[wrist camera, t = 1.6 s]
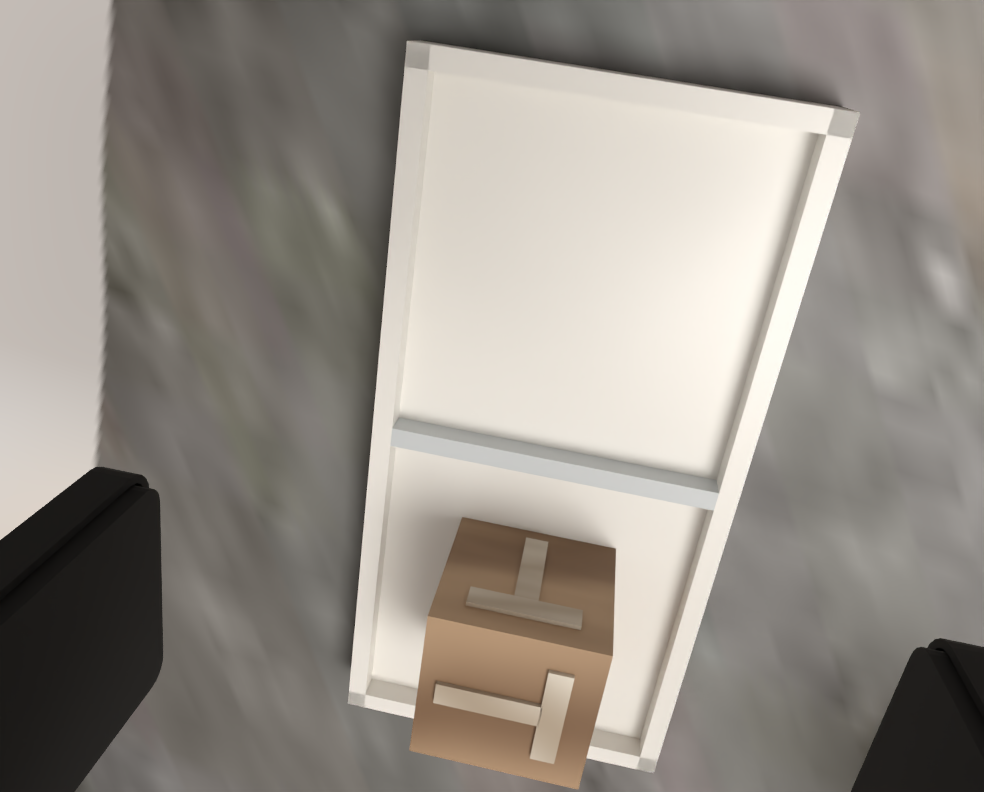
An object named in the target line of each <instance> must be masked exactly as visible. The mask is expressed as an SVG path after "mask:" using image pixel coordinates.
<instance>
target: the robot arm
mask: <svg viewBox="0 0 984 792" xmlns="http://www.w3.org/2000/svg"><path fill="white" fill-rule="evenodd" d="M162 661H163V627H162V578H161V528H160V498H159V494H158V492H157V491H156V490H154V489H150V488H149V484H148V482H147V479H146V478H145V477H144V476H142V475H139V474H134V473H130V472H125V471H120V470H115V469H110V468H105V467H95V468H93V469H92V470H90V471H89V472H87V473H86V474H85V475H83V476H82V477H81V478H80V479H78V480H77V481H76V482H74V483H73V484H72V485H71V486H69V487H68V488H67V489H65V490H64V491H63V492H62V493H60V494H59V495H58V496H56V497H55V498H54V499H53V500H51V501H50V502H49V503H48V504H46V505H45V506H44V507H42V508H41V509H40V510H38V511H37V512H36V513H35V514H33V515H32V516H31V517H29V518H28V519H27V520H26V521H24V522H23V523H22V524H21V525H19V526H18V527H17V528H15V529H14V530H13V531H11V532H10V533H9V534H8V535H6V536H5V537H4V538H3V539H1V540H0V792H75V790H76V789H77V788H78V786H79V785H80V784H81V782H82V781H83V780H84V778H85V777H86V776H87V774H88V773H89V771H90V770H91V769H92V767H93V766H94V765H95V763H96V762H97V761H98V759H99V758H100V757H101V755H102V754H103V753H104V751H105V750H106V749H107V747H108V746H109V745H110V743H111V742H112V741H113V739H114V738H115V736H116V735H117V734H118V732H119V731H120V730H121V728H122V727H123V726H124V724H125V723H126V722H127V720H128V719H129V718H130V716H131V715H132V714H133V712H134V711H135V710H136V708H137V707H138V705H139V704H140V703H141V701H142V700H143V699H144V697H145V696H146V695H147V693H148V692H149V691H150V689H151V688H152V686H153V685H154V683H155V682H156V679H157V677H158V675H159V672H160V669H161V666H162ZM851 792H984V647H981V646H976V645H971V644H966V643H961V642H956V641H951V640H947V639H942V638H940V639H935V640H934V641H933V642H931V643H930V644H929V646H928V648H924V647H919V648H917V649H915V650H914V651H913V653H912V655H911V656H910V658H909V661H908V663H907V665H906V667H905V670H904V672H903V674H902V677H901V679H900V681H899V683H898V686H897V688H896V690H895V693H894V695H893V697H892V699H891V702H890V704H889V706H888V708H887V711H886V713H885V715H884V718H883V720H882V722H881V724H880V727H879V729H878V731H877V733H876V736H875V738H874V740H873V743H872V745H871V747H870V749H869V752H868V754H867V756H866V758H865V761H864V763H863V765H862V768H861V770H860V772H859V774H858V777H857V779H856V781H855V783H854V786H853V788H852V790H851Z"/></svg>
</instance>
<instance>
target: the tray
mask: <svg viewBox="0 0 984 792" xmlns="http://www.w3.org/2000/svg"><path fill="white" fill-rule="evenodd" d="M859 115H860V112H857V111H854V110H851V109H848V108H845V107H839V106H832V105H826V104H820V103H813V102H807V101H801V100H794V99H788V98H782V97H776V96H769V95H763V94H757V93H750V92H744V91H738V90H731V89H725V88H719V87H713V86H706V85H700V84H694V83H687V82H681V81H675V80H668V79H662V78H656V77H649V76H643V75H637V74H631V73H624V72H618V71H612V70H605V69H599V68H593V67H586V66H580V65H574V64H567V63H561V62H555V61H549V60H542V59H536V58H530V57H523V56H517V55H511V54H504V53H498V52H492V51H486V50H479V49H473V48H467V47H460V46H454V45H448V44H441V43H435V42H429V41H422V40H417V41H407V46H406V57H405V69H404V80H403V91H402V102H401V113H400V125H399V136H398V147H397V158H396V170H395V181H394V192H393V203H392V215H391V226H390V237H389V248H388V260H387V271H386V282H385V293H384V304H383V316H382V327H381V338H380V349H379V361H378V372H377V383H376V394H375V406H374V417H373V428H372V439H371V451H370V462H369V473H368V484H367V495H366V507H365V518H364V529H363V540H362V552H361V563H360V574H359V585H358V597H357V608H356V619H355V630H354V642H353V653H352V664H351V675H350V686H349V698H348V704H352V705H357V706H361V707H366V708H370V709H374V710H379V711H383V712H387V713H392V714H396V715H401V716H405V717H409V718H414V713H415V706H416V698H417V691H418V683H419V676H420V669H421V661H422V654H423V646H424V639H425V632H426V624H427V617H428V613H429V611H430V608H431V605H432V602H433V599H434V596H435V593H436V591H437V588H438V585H439V582H440V579H441V576H442V573H443V571H444V568H445V565H446V562H447V559H448V556H449V553H450V551H451V548H452V545H453V542H454V539H455V536H456V533H457V531H458V528H459V525H460V522H461V519H462V517H465V518H470V519H475V520H480V521H485V522H490V523H494V524H499V525H504V526H509V527H514V528H519V529H524V530H528V531H533V532H538V533H543V534H548V535H553V536H557V537H562V538H567V539H572V540H577V541H582V542H586V543H591V544H596V545H601V546H606V547H611V548H615V549H616V567H615V603H614V639H613V658H612V662H611V666H610V670H609V674H608V677H607V681H606V685H605V689H604V693H603V697H602V700H601V704H600V708H599V712H598V716H597V719H596V723H595V727H594V731H593V735H592V739H591V742H590V746H589V750H588V754H587V758H589V759H593V760H598V761H602V762H606V763H611V764H615V765H620V766H624V767H628V768H633V769H637V770H641V771H646V772H650V773H654V770H655V767H656V764H657V761H658V757H659V754H660V751H661V748H662V745H663V741H664V738H665V735H666V732H667V729H668V725H669V722H670V719H671V716H672V713H673V710H674V706H675V703H676V700H677V697H678V694H679V690H680V687H681V684H682V681H683V678H684V674H685V671H686V668H687V665H688V662H689V658H690V655H691V652H692V649H693V646H694V642H695V639H696V636H697V633H698V630H699V626H700V623H701V620H702V617H703V614H704V610H705V607H706V604H707V601H708V598H709V594H710V591H711V588H712V585H713V582H714V578H715V575H716V572H717V569H718V566H719V562H720V559H721V556H722V553H723V550H724V546H725V543H726V540H727V537H728V534H729V531H730V527H731V524H732V521H733V518H734V515H735V511H736V508H737V505H738V502H739V499H740V495H741V492H742V489H743V486H744V483H745V479H746V476H747V473H748V470H749V467H750V463H751V460H752V457H753V454H754V451H755V447H756V444H757V441H758V438H759V435H760V431H761V428H762V425H763V422H764V419H765V415H766V412H767V409H768V406H769V403H770V399H771V396H772V393H773V390H774V387H775V383H776V380H777V377H778V374H779V371H780V368H781V364H782V361H783V358H784V355H785V352H786V348H787V345H788V342H789V339H790V336H791V332H792V329H793V326H794V323H795V320H796V316H797V313H798V310H799V307H800V304H801V300H802V297H803V294H804V291H805V288H806V284H807V281H808V278H809V275H810V272H811V268H812V265H813V262H814V259H815V256H816V252H817V249H818V246H819V243H820V240H821V236H822V233H823V230H824V227H825V224H826V220H827V217H828V214H829V211H830V208H831V204H832V201H833V198H834V195H835V192H836V189H837V185H838V182H839V179H840V176H841V173H842V169H843V166H844V163H845V160H846V157H847V153H848V150H849V147H850V144H851V141H852V137H853V134H854V131H855V128H856V125H857V121H858V118H859Z"/></svg>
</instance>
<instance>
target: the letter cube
mask: <svg viewBox="0 0 984 792" xmlns="http://www.w3.org/2000/svg"><path fill="white" fill-rule="evenodd" d="M615 567H616V549H615V548H611V547H606V546H601V545H596V544H591V543H586V542H582V541H577V540H572V539H567V538H562V537H557V536H553V535H548V534H543V533H538V532H533V531H528V530H524V529H519V528H514V527H509V526H504V525H499V524H494V523H490V522H485V521H480V520H475V519H470V518H465V517H462V519H461V522H460V525H459V528H458V531H457V533H456V536H455V539H454V542H453V545H452V548H451V551H450V553H449V556H448V559H447V562H446V565H445V568H444V571H443V573H442V576H441V579H440V582H439V585H438V588H437V591H436V593H435V596H434V599H433V602H432V605H431V608H430V611H429V613H428V617H427V624H426V632H425V639H424V646H423V654H422V661H421V669H420V676H419V683H418V691H417V698H416V706H415V713H414V720H413V728H412V735H411V742H410V751H414V752H418V753H423V754H427V755H431V756H435V757H440V758H444V759H448V760H453V761H457V762H461V763H466V764H470V765H474V766H479V767H483V768H487V769H492V770H496V771H500V772H505V773H509V774H513V775H517V776H522V777H526V778H530V779H535V780H539V781H543V782H548V783H552V784H556V785H561V786H565V787H569V788H574V789H578V788H579V784H580V781H581V777H582V773H583V769H584V765H585V761H586V758H587V754H588V750H589V746H590V742H591V739H592V735H593V731H594V727H595V723H596V719H597V716H598V712H599V708H600V704H601V700H602V697H603V693H604V689H605V685H606V681H607V677H608V674H609V670H610V666H611V662H612V658H613V639H614V603H615Z"/></svg>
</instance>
